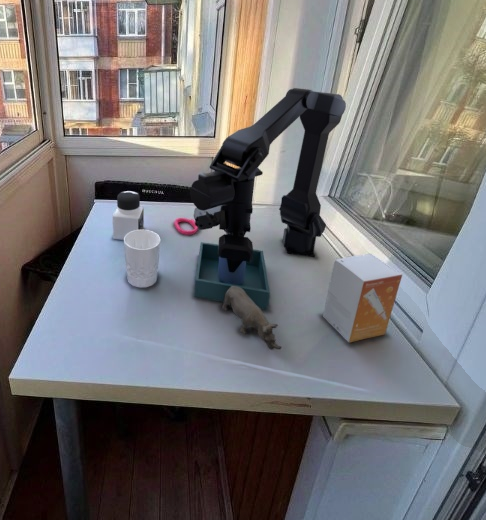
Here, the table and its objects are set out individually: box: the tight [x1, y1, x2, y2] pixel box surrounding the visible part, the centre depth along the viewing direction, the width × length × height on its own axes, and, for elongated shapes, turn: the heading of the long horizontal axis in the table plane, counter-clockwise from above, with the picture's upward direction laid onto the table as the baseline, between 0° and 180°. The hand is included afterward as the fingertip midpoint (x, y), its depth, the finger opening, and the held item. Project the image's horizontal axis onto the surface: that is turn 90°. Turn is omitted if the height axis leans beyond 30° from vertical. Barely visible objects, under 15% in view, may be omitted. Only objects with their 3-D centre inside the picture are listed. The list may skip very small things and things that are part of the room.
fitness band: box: [174, 217, 199, 236], centre depth 94 cm, size 8×6×2 cm
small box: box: [322, 253, 403, 344], centre depth 59 cm, size 8×6×13 cm
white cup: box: [123, 229, 162, 288], centre depth 73 cm, size 8×8×10 cm
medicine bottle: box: [112, 190, 145, 241], centre depth 90 cm, size 7×7×12 cm
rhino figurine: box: [221, 286, 283, 351], centre depth 59 cm, size 4×14×6 cm, turn 22°
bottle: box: [218, 232, 246, 285], centre depth 71 cm, size 6×6×11 cm
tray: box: [193, 241, 271, 311], centre depth 73 cm, size 14×14×4 cm
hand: (231, 263), depth 72 cm, fingers closed on bottle, 6 cm apart
